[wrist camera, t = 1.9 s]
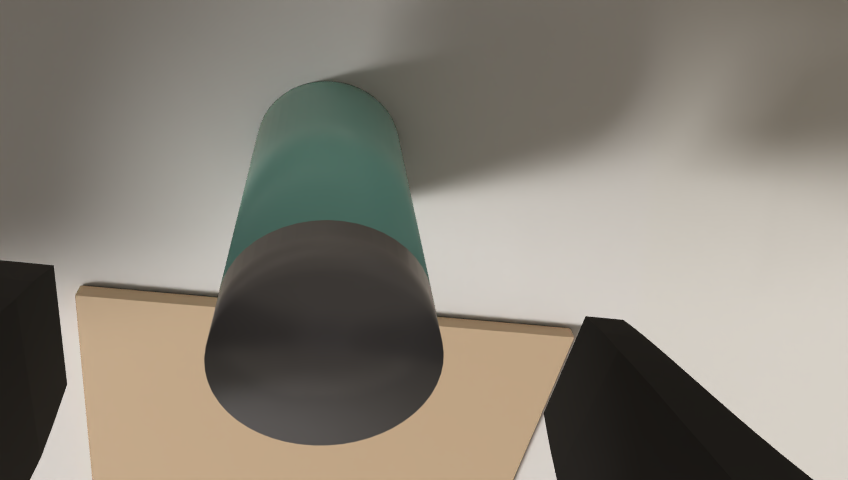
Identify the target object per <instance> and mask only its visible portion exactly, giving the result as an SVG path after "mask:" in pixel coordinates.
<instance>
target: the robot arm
mask: <svg viewBox="0 0 848 480" xmlns="http://www.w3.org/2000/svg"><path fill="white" fill-rule="evenodd" d="M66 386H67V379H66V371H65V362H64V353H63V344H62V335H61V326H60V318H59V309H58V300H57V291H56V282H55V273H54V265H43V264H33V263H22V262H12V261H2V260H0V480H30V478H31V476H32V474H33V472H34V470H35V468H36V466H37V464H38V462H39V460H40V458H41V456H42V453H43V450H44V448H45V445H46V442H47V440H48V437H49V434H50V432H51V429H52V426H53V423H54V421H55V418H56V415H57V412H58V409H59V406H60V403H61V400H62V398H63V395H64V392H65V389H66ZM544 417H545V423H546V428H547V434H548V439H549V445H550V450H551V454H552V459H553V463H554V468H555V473H556V477H557V480H813V479H812V478H810V477H809V476H808V475H807V474H805V473H804V472H803V471H802V470H800V469H799V468H798V467H797V466H795V465H794V464H793V463H792V462H790V461H789V460H788V459H787V458H785V457H784V456H783V455H782V454H780V453H779V452H778V451H777V450H776V449H774V448H773V447H772V446H771V445H770V444H768V443H767V442H766V441H765V440H764V439H762V438H761V437H760V436H759V435H758V434H756V433H755V432H754V431H753V430H752V429H751V428H749V427H748V426H747V425H746V424H745V423H744V422H742V421H741V420H740V419H739V418H738V417H737V416H735V415H734V414H733V413H732V412H731V411H730V410H728V409H727V408H726V407H725V406H724V405H723V404H722V403H720V402H719V401H718V400H717V399H716V398H715V397H714V396H712V395H711V394H710V393H709V392H708V391H707V390H706V389H704V388H703V387H702V386H701V385H700V384H699V383H698V382H696V381H695V380H694V379H693V378H692V377H691V376H690V375H689V374H687V373H686V372H685V371H684V370H683V369H682V368H681V367H679V366H678V365H677V364H676V363H675V362H674V361H673V360H671V359H670V358H669V357H668V356H667V355H666V354H665V353H663V352H662V351H661V350H660V349H659V348H658V347H656V346H655V345H654V344H653V343H652V342H651V341H649V340H648V339H647V338H646V337H645V336H643V335H642V334H641V333H640V332H638V331H637V330H636V329H635V328H633V327H632V326H631V325H629V324H628V323H627V322H625V321H624V320H618V319H608V318H597V317H587V316H586V317H585V319H584V322H583V324H582V326H581V328H580V331H579V333H578V335H577V338H576V340H575V342H574V345H573V347H572V349H571V352H570V354H569V356H568V358H567V361H566V363H565V365H564V368H563V370H562V372H561V375H560V377H559V379H558V381H557V384H556V386H555V388H554V391H553V393H552V395H551V398H550V400H549V402H548V405H547V407H546V409H545V411H544Z"/></svg>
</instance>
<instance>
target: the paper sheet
mask: <svg viewBox="0 0 848 480" xmlns="http://www.w3.org/2000/svg"><path fill="white" fill-rule="evenodd" d="M75 300H76V310H77V321H78V331H79V342H80V353H81V363H82V374H83V384H84V395H85V406H86V416H87V427H88V437H89V448H90V459H91V469H92V480H513V479H514V476H515V474H516V472H517V469H518V467H519V465H520V462H521V460H522V458H523V455H524V453H525V451H526V448H527V446H528V444H529V441H530V439H531V437H532V435H533V432H534V430H535V428H536V425H537V423H538V421H539V418H540V416H541V414H542V411H543V409H544V407H545V404H546V402H547V400H548V397H549V395H550V393H551V390H552V388H553V386H554V383H555V381H556V379H557V376H558V374H559V372H560V370H561V367H562V365H563V363H564V360H565V358H566V356H567V353H568V351H569V349H570V346H571V344H572V342H573V339H574V336H573V334H572V332H571V330H570V328H560V327H549V326H537V325H526V324H515V323H503V322H492V321H480V320H469V319H457V318H446V317H437V319H438V324H439V328H440V333H441V338H442V343H443V350H444V358H443V367H442V372H441V375H440V378H439V381H438V383H437V385H436V387H435V389H434V391H433V392H432V394H431V396H430V397H429V398H428V399H427V401H426V402H425V403H424V404H423V405H422V406H421V407H420V408H419V409H418V410H417V411H416V412H415V413H414V414H413V415H412V416H410V417H409V418H408V419H407V420H405V421H404V422H402V423H400V424H399V425H397V426H396V427H394V428H392V429H390V430H388V431H386V432H384V433H382V434H379V435H376V436H373V437H371V438H368V439H364V440H360V441H357V442H352V443H346V444H339V445H324V446H313V445H301V444H295V443H289V442H284V441H281V440H277V439H273V438H270V437H268V436H265V435H263V434H260V433H258V432H256V431H254V430H252V429H250V428H248V427H246V426H245V425H243V424H242V423H240V422H239V421H237V420H236V419H235V418H234V417H233V416H231V415H230V414H229V413H228V412H227V411H226V410H225V409H224V408H223V407H222V405H221V404H220V403H219V402H218V400H217V399H216V397H215V396H214V394H213V393H212V391H211V388H210V386H209V384H208V381H207V377H206V373H205V364H204V356H205V348H206V343H207V339H208V335H209V331H210V327H211V323H212V319H213V315H214V311H215V307H216V302H217V297H206V296H195V295H183V294H172V293H160V292H149V291H137V290H126V289H115V288H103V287H92V286H80V288H79V289H78V291H77V293H76V295H75Z"/></svg>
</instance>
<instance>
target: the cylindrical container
mask: <svg viewBox="0 0 848 480" xmlns="http://www.w3.org/2000/svg"><path fill="white" fill-rule="evenodd" d="M443 358H444V350H443V343H442V338H441V333H440V328H439V324H438V319H437V314H436V310H435V305H434V300H433V296H432V291H431V286H430V282H429V277H428V272H427V268H426V263H425V259H424V254H423V249H422V245H421V240H420V235H419V231H418V226H417V221H416V217H415V212H414V207H413V203H412V198H411V193H410V189H409V184H408V180H407V175H406V170H405V166H404V161H403V156H402V152H401V147H400V142H399V138H398V133H397V130H396V127H395V125H394V122H393V120H392V118H391V117H390V115H389V113H388V112H387V110H386V109H385V108H384V107H383V106H382V105H381V104H380V103H379V102H378V101H377V100H376V99H375V98H374V97H372V96H371V95H369V94H368V93H367V92H365V91H363V90H361V89H359V88H357V87H354V86H351V85H348V84H344V83H340V82H330V81H325V82H314V83H308V84H305V85H302V86H299V87H297V88H294V89H292V90H290V91H289V92H287V93H285V94H284V95H282V96H281V97H280V98H279V99H278V100H276V101H275V102H274V104H273V105H272V106H271V107H270V108H269V110H268V111H267V113H266V114H265V116H264V118H263V120H262V122H261V125H260V128H259V131H258V135H257V139H256V143H255V147H254V151H253V156H252V160H251V164H250V168H249V172H248V176H247V180H246V184H245V188H244V192H243V196H242V200H241V205H240V209H239V213H238V217H237V221H236V225H235V229H234V233H233V237H232V241H231V245H230V249H229V254H228V258H227V262H226V266H225V270H224V274H223V278H222V282H221V286H220V290H219V294H218V298H217V302H216V307H215V311H214V315H213V319H212V323H211V327H210V331H209V335H208V339H207V343H206V348H205V356H204V364H205V373H206V377H207V381H208V384H209V386H210V388H211V391H212V393H213V394H214V396H215V397H216V399H217V400H218V402H219V403H220V404H221V405H222V407H223V408H224V409H225V410H226V411H227V412H228V413H229V414H230V415H231V416H233V417H234V418H235V419H236V420H237V421H239V422H240V423H242V424H243V425H245V426H246V427H248V428H250V429H252V430H254V431H256V432H258V433H260V434H263V435H265V436H268V437H270V438H273V439H277V440H281V441H284V442H289V443H295V444H301V445H313V446H324V445H339V444H346V443H352V442H357V441H360V440H364V439H368V438H371V437H373V436H376V435H379V434H382V433H384V432H386V431H388V430H390V429H392V428H394V427H396V426H397V425H399V424H400V423H402V422H404V421H405V420H407V419H408V418H409V417H410V416H412V415H413V414H414V413H415V412H416V411H417V410H418V409H419V408H420V407H421V406H422V405H423V404H424V403H425V402H426V401H427V399H428V398H429V397H430V396H431V394H432V392H433V391H434V389H435V387H436V385H437V383H438V381H439V378H440V375H441V372H442V367H443Z"/></svg>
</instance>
